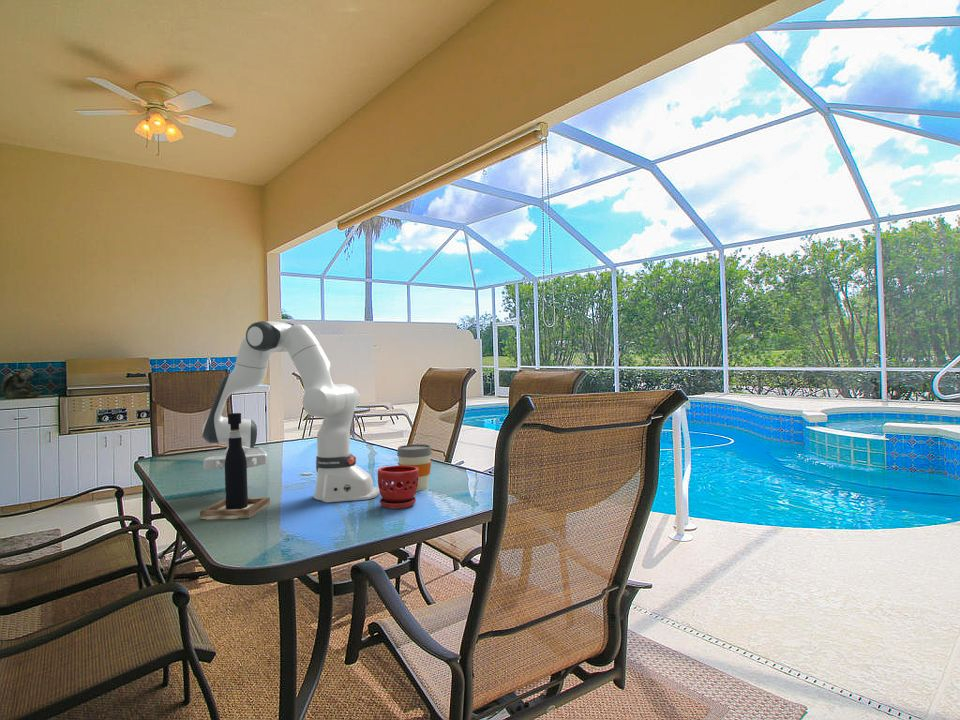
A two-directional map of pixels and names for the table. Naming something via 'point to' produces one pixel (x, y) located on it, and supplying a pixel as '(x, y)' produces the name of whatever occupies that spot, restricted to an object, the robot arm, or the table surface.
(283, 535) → the table surface
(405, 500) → the plant pot
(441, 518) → the table surface
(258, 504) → the bottle coaster
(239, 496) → the wine bottle
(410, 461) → the reusable coffee cup
